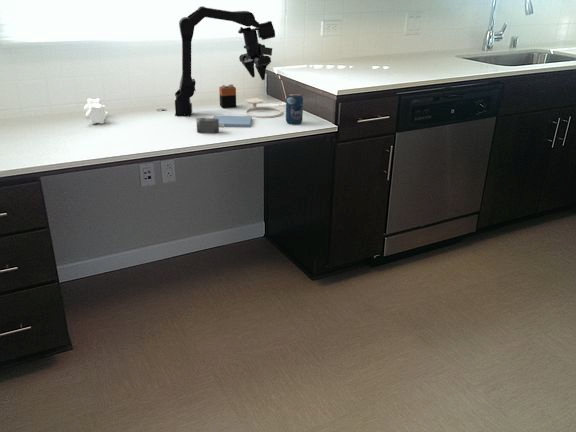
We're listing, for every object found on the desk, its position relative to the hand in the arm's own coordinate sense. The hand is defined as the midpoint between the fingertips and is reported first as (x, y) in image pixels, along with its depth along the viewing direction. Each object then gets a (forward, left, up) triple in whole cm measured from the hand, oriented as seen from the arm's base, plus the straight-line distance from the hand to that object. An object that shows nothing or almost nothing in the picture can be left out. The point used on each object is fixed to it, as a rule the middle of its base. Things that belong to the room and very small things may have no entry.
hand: (258, 78), depth 239 cm
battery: (-14, +7, -15) cm, 22 cm away
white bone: (-66, -19, -15) cm, 71 cm away
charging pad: (-10, -20, -14) cm, 27 cm away
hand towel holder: (+2, -2, -15) cm, 15 cm away
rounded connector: (-18, -34, -14) cm, 41 cm away
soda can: (+16, -19, -15) cm, 29 cm away
